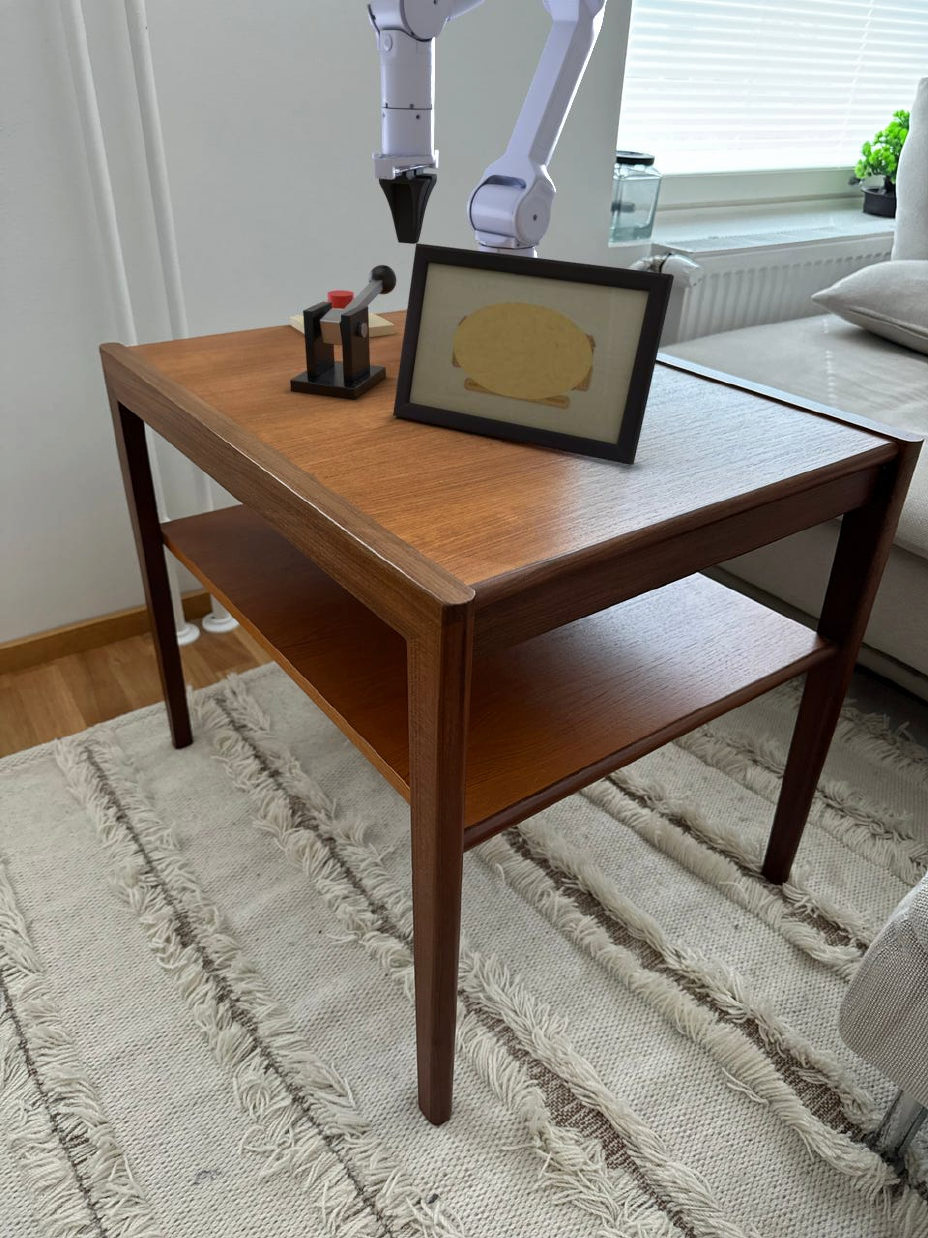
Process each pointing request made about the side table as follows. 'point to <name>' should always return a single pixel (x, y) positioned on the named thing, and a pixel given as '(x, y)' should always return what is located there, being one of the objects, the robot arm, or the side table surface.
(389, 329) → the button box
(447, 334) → the picture frame
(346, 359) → the bracket
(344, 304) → the button
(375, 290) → the lever
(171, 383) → the side table surface
